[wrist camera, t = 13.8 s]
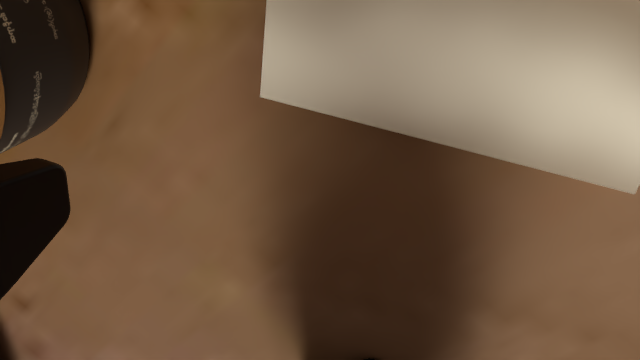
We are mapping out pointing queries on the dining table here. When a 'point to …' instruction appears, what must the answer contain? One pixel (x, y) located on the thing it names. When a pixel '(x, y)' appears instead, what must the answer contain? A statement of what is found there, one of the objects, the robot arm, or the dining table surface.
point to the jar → (39, 65)
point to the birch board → (472, 76)
